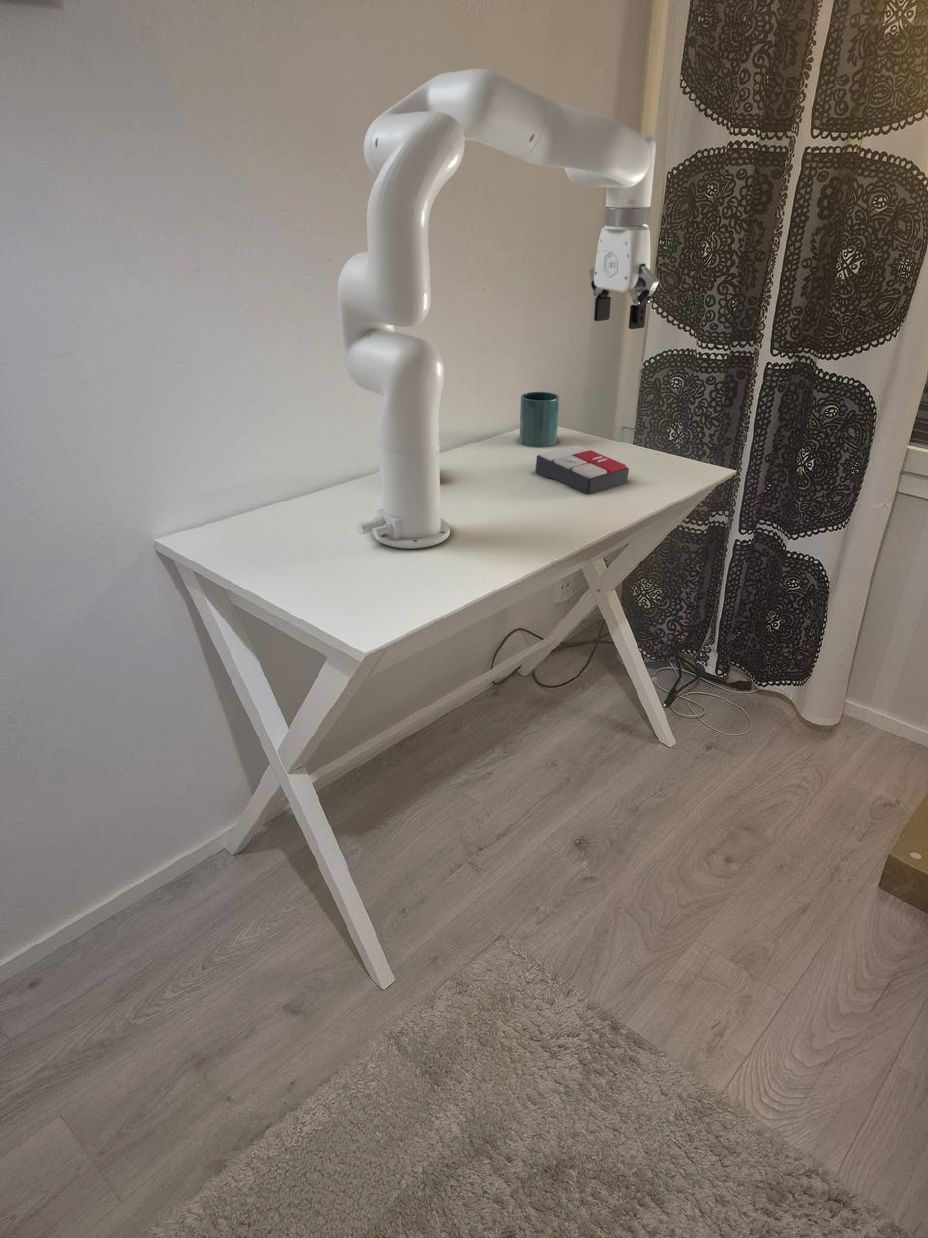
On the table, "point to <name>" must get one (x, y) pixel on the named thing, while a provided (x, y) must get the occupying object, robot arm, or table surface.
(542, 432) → the pen pot
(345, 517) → the table surface
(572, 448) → the button box
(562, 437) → the table surface
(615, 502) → the table surface
